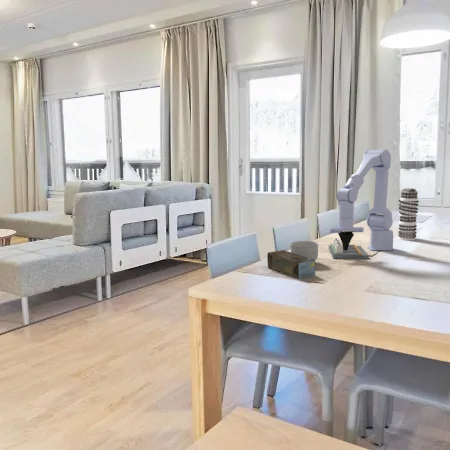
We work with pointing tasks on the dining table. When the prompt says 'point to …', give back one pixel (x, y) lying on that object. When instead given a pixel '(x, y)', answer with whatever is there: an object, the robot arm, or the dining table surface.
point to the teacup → (305, 249)
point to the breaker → (334, 241)
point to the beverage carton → (291, 263)
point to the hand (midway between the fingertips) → (345, 249)
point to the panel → (349, 252)
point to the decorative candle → (408, 214)
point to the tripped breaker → (339, 248)
